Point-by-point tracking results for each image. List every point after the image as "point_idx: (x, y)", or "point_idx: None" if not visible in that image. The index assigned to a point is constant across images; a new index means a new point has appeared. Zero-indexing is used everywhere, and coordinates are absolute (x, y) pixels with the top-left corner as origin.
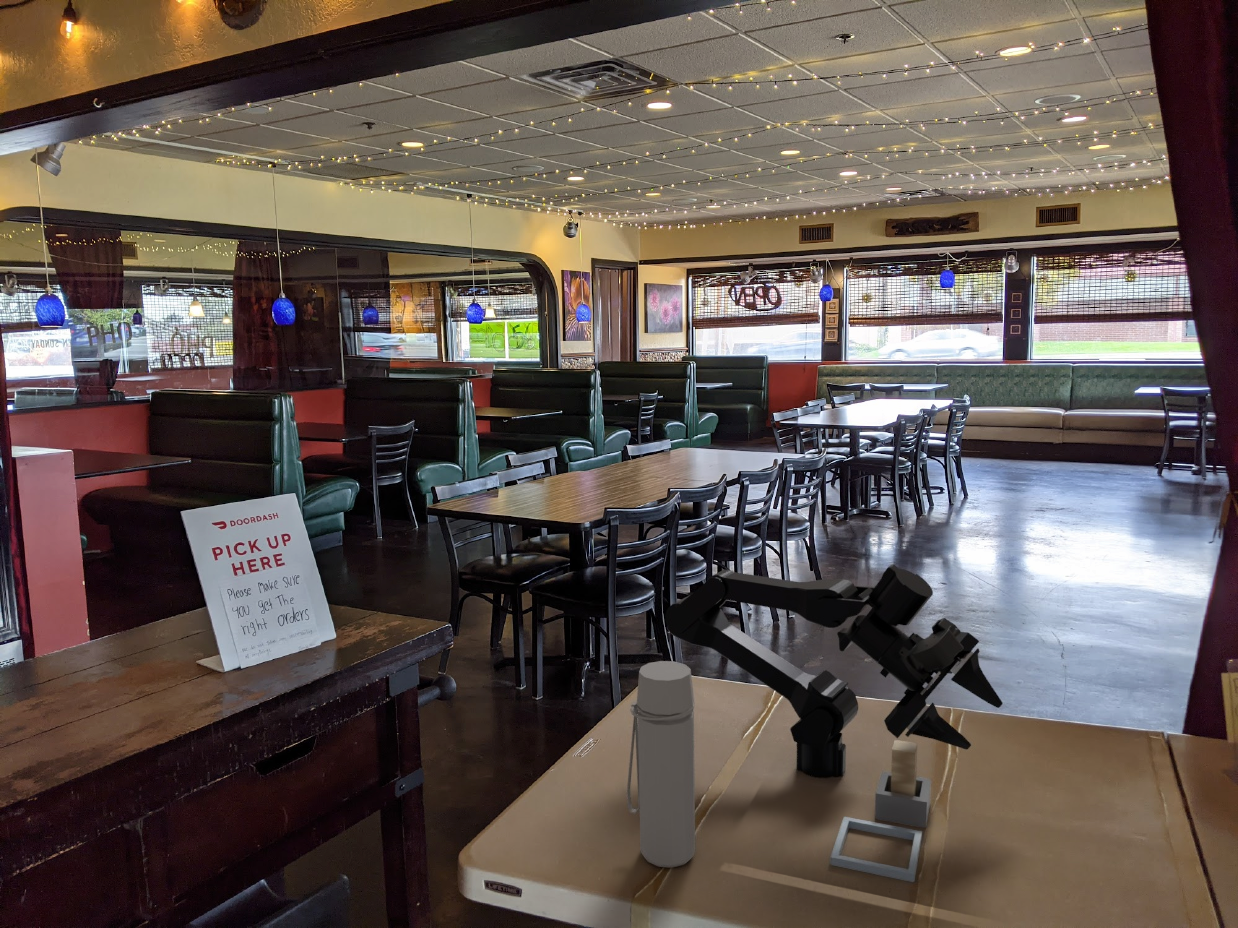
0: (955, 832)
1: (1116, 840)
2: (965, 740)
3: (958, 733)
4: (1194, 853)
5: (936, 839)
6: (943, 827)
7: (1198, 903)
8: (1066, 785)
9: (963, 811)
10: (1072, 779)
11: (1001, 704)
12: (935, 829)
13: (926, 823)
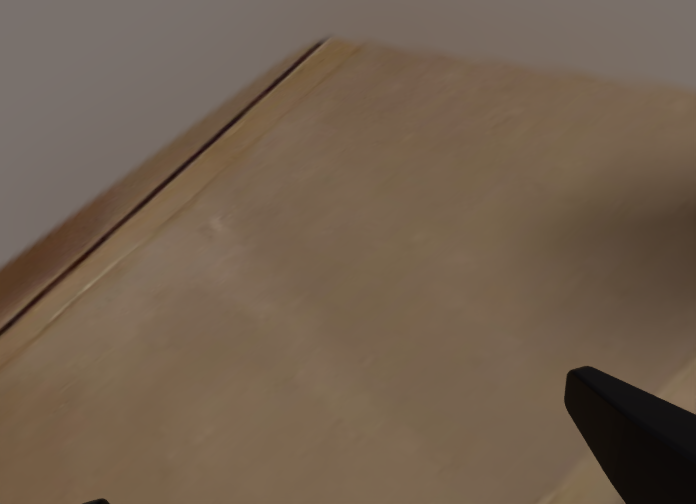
0: None
1: (259, 230)
2: (613, 390)
3: (679, 431)
4: (197, 161)
5: None
6: None
7: (318, 66)
8: (139, 440)
9: (467, 499)
10: (106, 453)
11: (101, 500)
12: None
13: None
